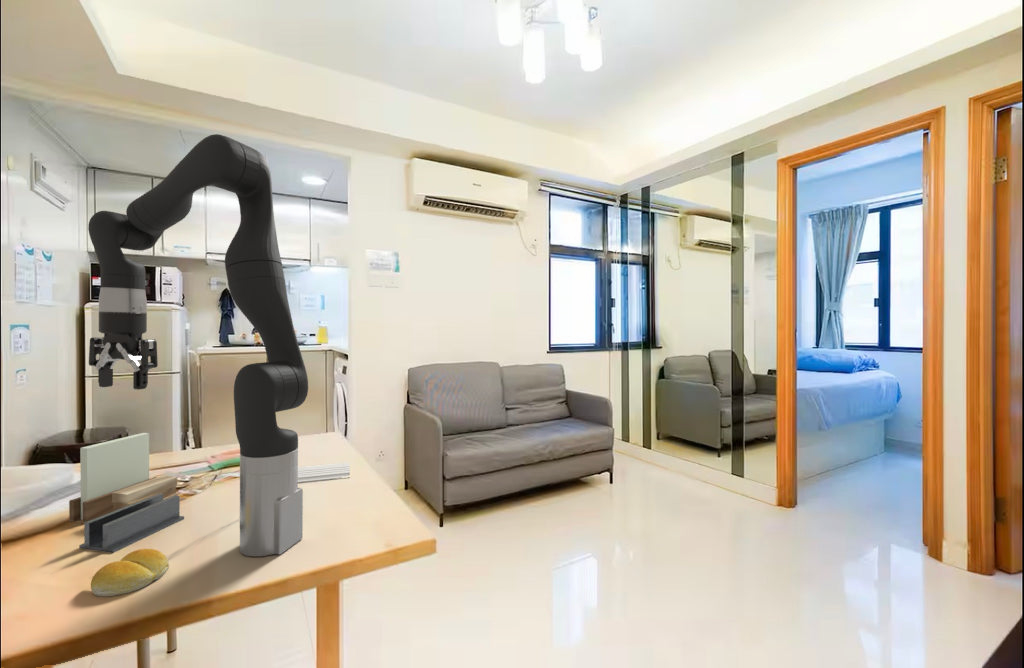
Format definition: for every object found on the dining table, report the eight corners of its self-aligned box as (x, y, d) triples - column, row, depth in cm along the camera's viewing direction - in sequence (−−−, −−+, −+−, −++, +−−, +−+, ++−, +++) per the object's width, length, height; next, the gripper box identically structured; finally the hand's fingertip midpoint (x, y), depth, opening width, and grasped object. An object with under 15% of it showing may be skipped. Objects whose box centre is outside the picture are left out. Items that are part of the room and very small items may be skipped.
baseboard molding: (349, 482, 113) (349, 467, 124) (350, 470, 113) (349, 457, 124) (207, 497, 102) (221, 479, 113) (207, 484, 102) (221, 468, 113)
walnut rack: (186, 504, 96) (186, 480, 96) (118, 535, 82) (118, 506, 82) (141, 500, 98) (141, 475, 98) (67, 528, 84) (67, 500, 84)
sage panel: (149, 496, 96) (149, 433, 96) (87, 520, 85) (87, 448, 84) (143, 495, 97) (143, 432, 96) (80, 519, 85) (80, 447, 85)
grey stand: (184, 526, 86) (184, 496, 86) (113, 561, 73) (112, 526, 73) (154, 522, 87) (154, 493, 87) (79, 556, 74) (79, 522, 74)
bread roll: (77, 594, 65) (76, 568, 65) (141, 562, 73) (141, 539, 73) (118, 604, 63) (118, 576, 63) (180, 570, 71) (180, 546, 71)
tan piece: (178, 501, 94) (178, 476, 94) (128, 522, 84) (128, 494, 84) (162, 499, 95) (161, 475, 95) (111, 520, 85) (111, 492, 85)
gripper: (74, 309, 89) (74, 388, 89) (133, 310, 86) (133, 392, 87) (113, 310, 96) (113, 383, 97) (169, 311, 94) (168, 387, 94)
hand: (123, 387), depth 92 cm, fingers open, 8 cm apart
